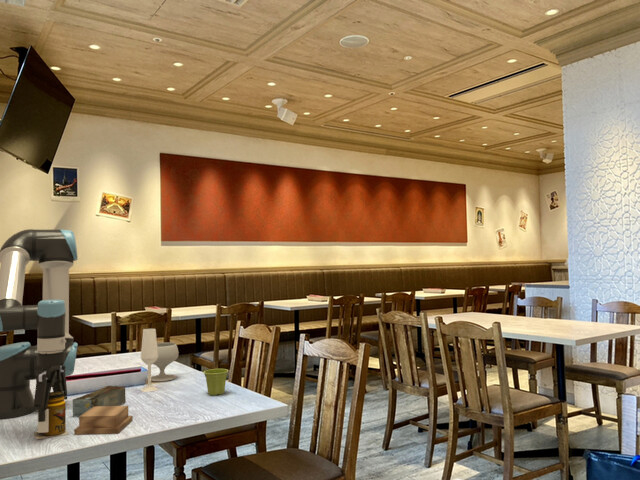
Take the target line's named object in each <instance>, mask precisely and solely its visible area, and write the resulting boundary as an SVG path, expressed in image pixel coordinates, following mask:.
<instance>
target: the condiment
mask: <svg viewBox="0 0 640 480" xmlns="http://www.w3.org/2000/svg"><path fill="white" fill-rule="evenodd" d="M63 392H64V391H63ZM63 392H53V391H50V396H49V401H48V405H47V409H49V432H46V433H38V431H34V432H33V434H34V436H35V439H36V441H37V440H41V439H46V438H51V437H52V438H55V437H60V436H66V435H68V434H69V432H68V431H67V429H66V419H67V417H66V413H67V412H66V411H67V410H66V400H64V393H63Z"/></svg>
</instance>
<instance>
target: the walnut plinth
mask: <svg viewBox="0 0 640 480" xmlns="http://www.w3.org/2000/svg"><path fill="white" fill-rule="evenodd" d="M133 417H134V416H133V415H129V405H119V406H94V407H92V408H91V409H89V410H88V411H86V412H85V413H84V414H82V415H81V416H79V417H78V426H77V427H76V428H75V429H74V430H73V431H74V432H73V433H74V434H73V435H76V436H77V435H109V434H111V435H112V434H120V433H121V432H122V431H123V430H124V429H125V428H126V427H127V426H128V425H129V424H130V423H132V422H133V419H134V418H133Z"/></svg>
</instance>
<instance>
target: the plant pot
mask: <svg viewBox="0 0 640 480" xmlns="http://www.w3.org/2000/svg"><path fill="white" fill-rule="evenodd" d="M228 372H229V370H228V369H226V368H213V369H207V370H204V371H203V375H204V377H205V381H206V388H207V394H208V395H210V396H217V395H223V394H225V390H226V381H227V376H228Z"/></svg>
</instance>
